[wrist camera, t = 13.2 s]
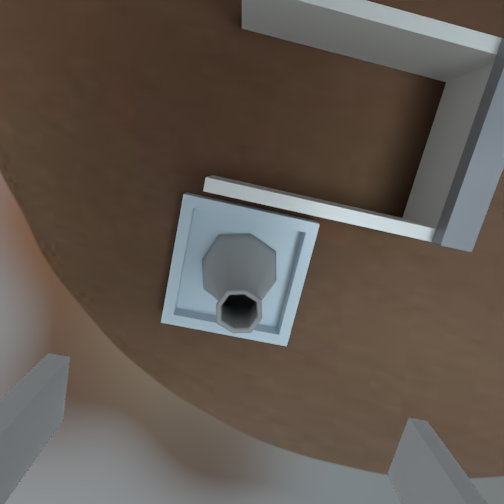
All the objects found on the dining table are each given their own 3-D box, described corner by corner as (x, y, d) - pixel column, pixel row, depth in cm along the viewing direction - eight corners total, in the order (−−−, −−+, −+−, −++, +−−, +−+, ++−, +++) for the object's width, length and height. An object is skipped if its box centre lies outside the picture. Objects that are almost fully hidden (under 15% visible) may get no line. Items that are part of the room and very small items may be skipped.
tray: (187, 192, 31) (183, 193, 29) (314, 220, 32) (319, 224, 30) (165, 313, 34) (160, 322, 32) (284, 335, 35) (286, 346, 33)
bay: (244, 15, 28) (245, -45, 20) (468, 74, 30) (551, 41, 22) (211, 186, 31) (201, 192, 23) (416, 231, 33) (471, 252, 25)
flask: (264, 313, 34) (274, 372, 24) (192, 294, 33) (172, 346, 23) (288, 244, 32) (308, 277, 23) (212, 221, 32) (200, 245, 22)
